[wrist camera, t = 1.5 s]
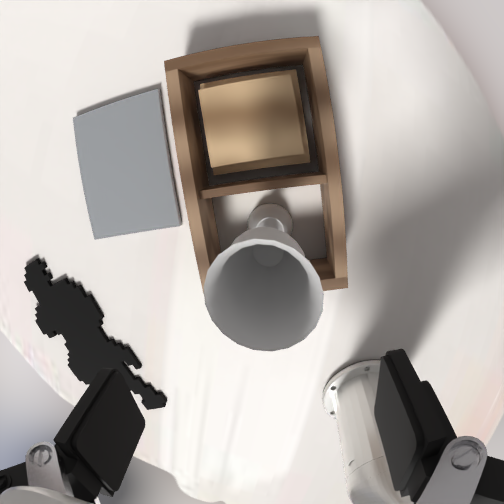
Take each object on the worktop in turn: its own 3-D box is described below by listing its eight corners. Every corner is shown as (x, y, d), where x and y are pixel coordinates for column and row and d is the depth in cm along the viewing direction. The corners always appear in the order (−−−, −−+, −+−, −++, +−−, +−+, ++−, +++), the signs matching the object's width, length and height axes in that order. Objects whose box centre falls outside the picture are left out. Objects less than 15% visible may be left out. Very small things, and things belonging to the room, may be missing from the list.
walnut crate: (337, 266, 36) (347, 287, 30) (216, 279, 37) (205, 302, 32) (311, 54, 28) (318, 36, 23) (182, 74, 30) (164, 61, 24)
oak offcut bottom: (308, 161, 33) (310, 162, 30) (218, 173, 34) (213, 175, 32) (294, 75, 30) (296, 69, 27) (205, 88, 31) (199, 84, 29)
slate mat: (181, 224, 35) (179, 225, 35) (97, 237, 37) (94, 239, 36) (160, 89, 31) (157, 88, 30) (76, 118, 32) (72, 117, 31)
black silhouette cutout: (170, 402, 45) (68, 238, 38) (169, 406, 44) (64, 240, 37) (105, 411, 48) (14, 275, 41) (103, 414, 47) (11, 277, 40)
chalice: (228, 209, 34) (181, 268, 17) (284, 183, 33) (292, 217, 16) (257, 266, 36) (239, 364, 19) (311, 242, 35) (340, 327, 18)
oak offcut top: (302, 153, 30) (304, 153, 28) (214, 166, 31) (211, 167, 29) (289, 78, 28) (290, 74, 26) (202, 93, 29) (198, 90, 27)
